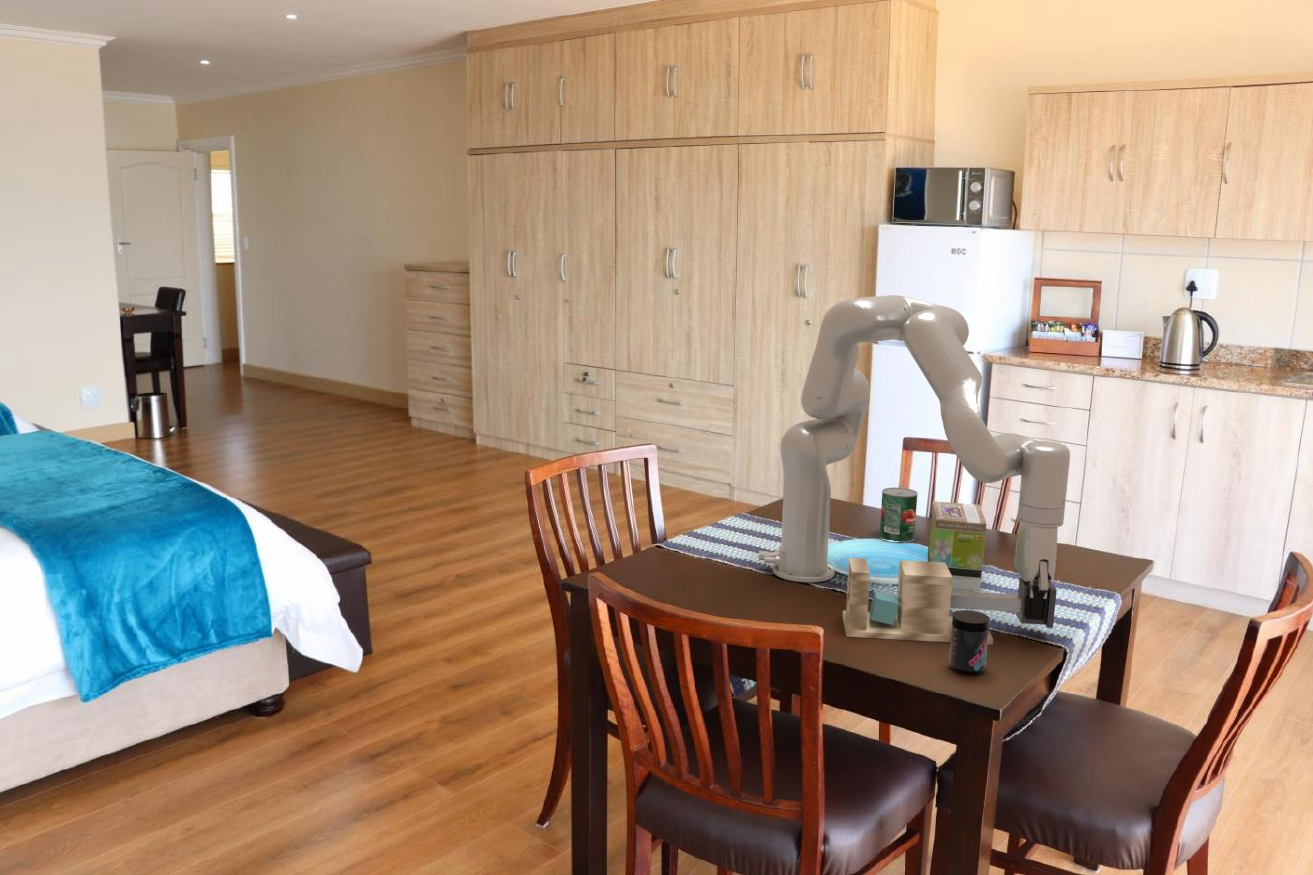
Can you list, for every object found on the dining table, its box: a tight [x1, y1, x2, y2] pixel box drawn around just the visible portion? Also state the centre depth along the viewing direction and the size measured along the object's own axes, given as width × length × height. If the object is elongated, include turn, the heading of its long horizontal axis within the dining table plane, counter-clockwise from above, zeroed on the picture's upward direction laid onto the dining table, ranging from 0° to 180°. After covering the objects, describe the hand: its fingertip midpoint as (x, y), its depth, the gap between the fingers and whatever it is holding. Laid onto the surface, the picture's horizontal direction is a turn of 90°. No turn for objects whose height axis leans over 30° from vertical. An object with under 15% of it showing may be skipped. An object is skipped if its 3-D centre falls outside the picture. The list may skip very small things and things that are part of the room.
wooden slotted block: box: [842, 557, 994, 646], centre depth 190 cm, size 25×10×12 cm, turn 84°
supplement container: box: [948, 609, 991, 676], centre depth 174 cm, size 6×6×9 cm
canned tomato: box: [878, 486, 918, 544], centre depth 245 cm, size 8×8×11 cm
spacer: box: [869, 590, 899, 625], centre depth 191 cm, size 4×5×4 cm
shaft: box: [900, 577, 1058, 629], centre depth 189 cm, size 26×7×7 cm, turn 84°
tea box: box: [926, 501, 987, 592], centre depth 216 cm, size 15×10×15 cm, turn 168°
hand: (1031, 612), depth 189 cm, fingers closed on shaft, 4 cm apart
